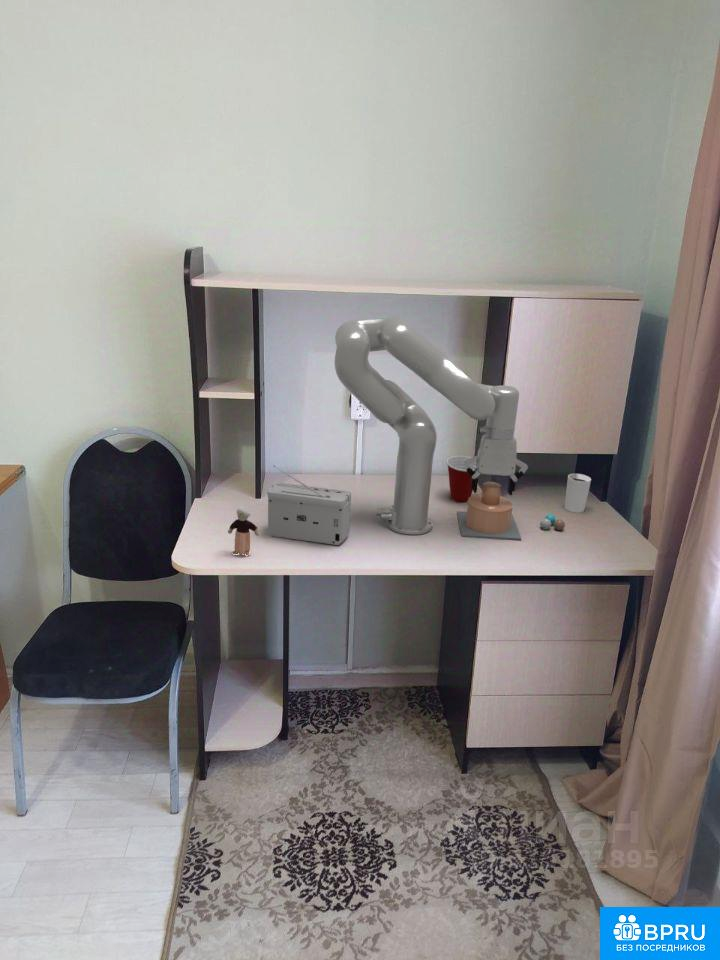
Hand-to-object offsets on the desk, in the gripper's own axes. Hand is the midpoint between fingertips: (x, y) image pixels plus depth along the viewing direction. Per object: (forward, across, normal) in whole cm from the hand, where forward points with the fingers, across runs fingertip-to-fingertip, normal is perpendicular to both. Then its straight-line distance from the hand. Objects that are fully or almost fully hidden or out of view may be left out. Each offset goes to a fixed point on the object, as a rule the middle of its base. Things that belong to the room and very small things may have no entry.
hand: (492, 492), depth 200 cm
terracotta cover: (+10, 0, 0) cm, 10 cm away
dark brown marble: (+10, +20, +1) cm, 22 cm away
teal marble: (+10, +18, +4) cm, 21 cm away
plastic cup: (+10, -6, +19) cm, 23 cm away
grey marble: (+10, +16, +1) cm, 19 cm away
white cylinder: (+10, +28, +17) cm, 34 cm away
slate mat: (+10, 0, 0) cm, 10 cm away
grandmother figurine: (+10, -64, -26) cm, 70 cm away
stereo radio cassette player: (+11, -49, -14) cm, 52 cm away
